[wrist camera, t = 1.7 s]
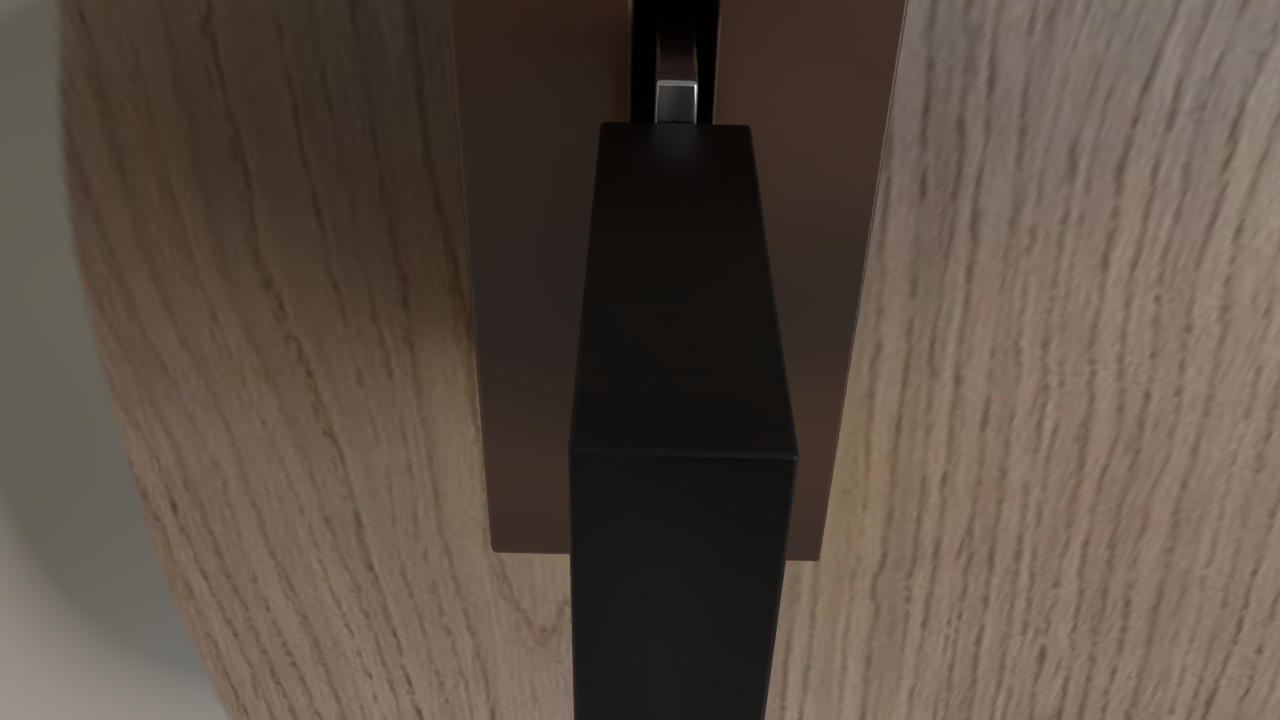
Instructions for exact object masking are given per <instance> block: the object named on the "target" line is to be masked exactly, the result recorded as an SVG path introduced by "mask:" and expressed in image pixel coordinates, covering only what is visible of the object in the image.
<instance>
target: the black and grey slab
mask: <svg viewBox="0 0 1280 720" xmlns="http://www.w3.org/2000/svg"><path fill="white" fill-rule="evenodd" d="M697 104H698V70H697V55H696V40H695V25H694V10H693V0H655V25H654V62H653V100H652V123H636V122H603V123H602V124H601V126H600V132H599V142H598V152H597V162H596V172H595V182H594V192H593V202H592V212H591V221H590V231H589V241H588V251H587V261H586V271H585V281H584V291H583V301H582V311H581V321H580V331H579V341H578V351H577V360H576V370H575V380H574V390H573V400H572V410H571V420H570V430H569V440H568V450H567V456H568V496H569V536H570V576H571V616H572V656H573V696H574V720H764V719H765V712H766V704H767V697H768V689H769V682H770V675H771V667H772V660H773V652H774V645H775V638H776V630H777V623H778V615H779V608H780V601H781V593H782V586H783V578H784V571H785V564H786V556H787V549H788V541H789V534H790V527H791V519H792V512H793V504H794V497H795V490H796V482H797V475H798V467H799V460H800V454H799V447H798V440H797V434H796V427H795V420H794V413H793V407H792V400H791V393H790V387H789V380H788V373H787V366H786V360H785V353H784V346H783V340H782V333H781V326H780V319H779V313H778V306H777V299H776V292H775V286H774V279H773V272H772V266H771V259H770V252H769V245H768V239H767V232H766V225H765V219H764V212H763V205H762V198H761V192H760V185H759V178H758V172H757V165H756V158H755V151H754V145H753V138H752V131H751V128H750V126H747V125H720V124H697Z"/></svg>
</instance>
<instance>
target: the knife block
mask: <svg viewBox="0 0 1280 720" xmlns="http://www.w3.org/2000/svg"><path fill="white" fill-rule="evenodd" d="M908 1H909V0H693V10H694V25H695V40H696V55H697V70H698V104H697V124H720V125H747V126H750V128H751V131H752V138H753V145H754V151H755V158H756V165H757V172H758V178H759V185H760V192H761V198H762V205H763V212H764V219H765V225H766V232H767V239H768V245H769V252H770V259H771V266H772V272H773V279H774V286H775V292H776V299H777V306H778V313H779V319H780V326H781V333H782V340H783V346H784V353H785V360H786V366H787V373H788V380H789V387H790V393H791V400H792V407H793V413H794V420H795V427H796V434H797V440H798V447H799V454H800V460H799V467H798V475H797V482H796V490H795V497H794V504H793V512H792V519H791V527H790V534H789V541H788V549H787V556H786V560H792V561H818V560H819V558H820V552H821V545H822V539H823V533H824V527H825V520H826V514H827V508H828V502H829V495H830V489H831V483H832V477H833V470H834V464H835V458H836V451H837V445H838V439H839V433H840V426H841V420H842V414H843V408H844V401H845V395H846V389H847V383H848V376H849V370H850V364H851V358H852V351H853V345H854V339H855V332H856V326H857V320H858V314H859V307H860V301H861V295H862V289H863V282H864V276H865V270H866V264H867V257H868V251H869V245H870V239H871V232H872V226H873V220H874V213H875V207H876V201H877V195H878V188H879V182H880V176H881V170H882V163H883V157H884V151H885V145H886V138H887V132H888V126H889V120H890V113H891V107H892V101H893V94H894V88H895V82H896V76H897V69H898V63H899V57H900V51H901V44H902V38H903V32H904V26H905V19H906V13H907V7H908ZM446 5H447V17H448V29H449V41H450V53H451V65H452V77H453V89H454V102H455V114H456V126H457V138H458V150H459V162H460V174H461V186H462V198H463V210H464V222H465V235H466V247H467V259H468V271H469V283H470V295H471V307H472V319H473V331H474V343H475V355H476V368H477V380H478V392H479V404H480V416H481V428H482V440H483V452H484V464H485V476H486V488H487V501H488V513H489V525H490V537H491V547H492V550H493V551H494V552H499V553H541V554H570V536H569V496H568V456H567V450H568V440H569V430H570V420H571V410H572V400H573V390H574V380H575V370H576V360H577V351H578V341H579V331H580V321H581V311H582V301H583V291H584V281H585V271H586V261H587V251H588V241H589V231H590V221H591V212H592V202H593V192H594V182H595V172H596V162H597V152H598V142H599V132H600V126H601V124H602V123H603V122H636V123H652V100H653V62H654V25H655V0H446Z"/></svg>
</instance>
